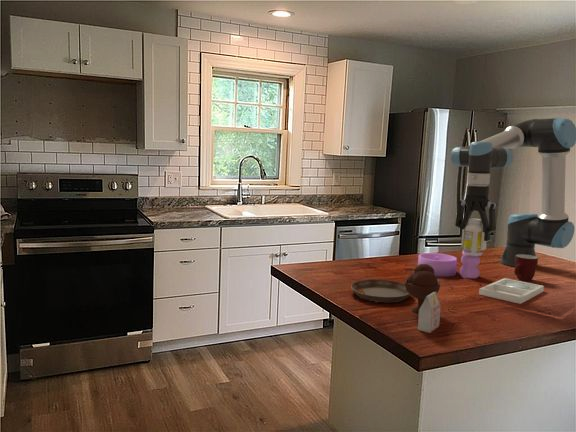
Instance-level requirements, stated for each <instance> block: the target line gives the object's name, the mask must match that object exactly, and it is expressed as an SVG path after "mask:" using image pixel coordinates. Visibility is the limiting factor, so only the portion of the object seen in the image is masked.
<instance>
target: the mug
mask: <svg viewBox="0 0 576 432" xmlns="http://www.w3.org/2000/svg"><path fill="white" fill-rule="evenodd" d="M538 262H539V257H538V256H537V255H536V256H532V255H524V254H518V255H515V267H514V275H515V276H516V278H517V280H518V281H522V282H531V281H532V280H533V279H534V277H535V275H536V274H535V273H536V271H537V267H538V264H539V263H538Z"/></svg>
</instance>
